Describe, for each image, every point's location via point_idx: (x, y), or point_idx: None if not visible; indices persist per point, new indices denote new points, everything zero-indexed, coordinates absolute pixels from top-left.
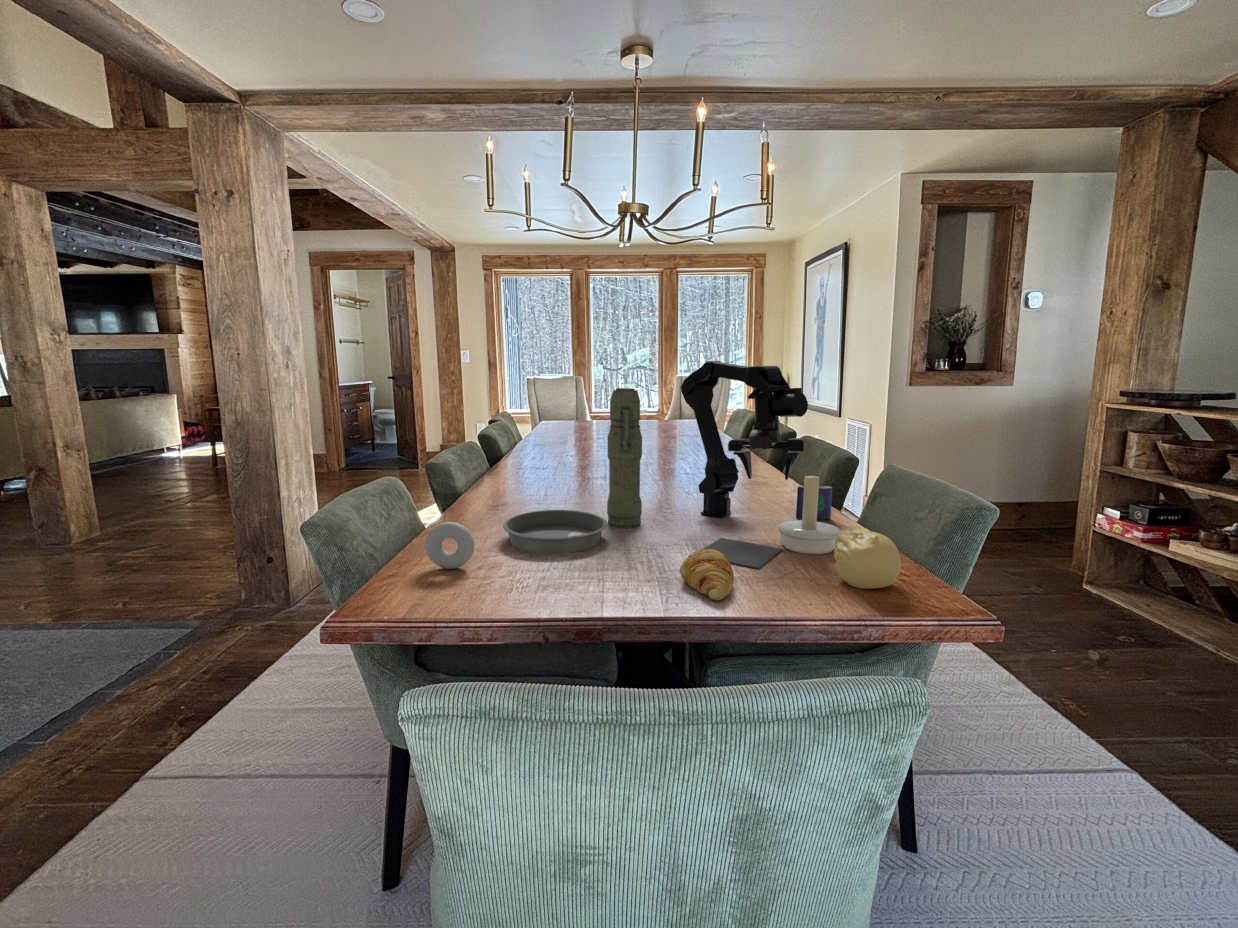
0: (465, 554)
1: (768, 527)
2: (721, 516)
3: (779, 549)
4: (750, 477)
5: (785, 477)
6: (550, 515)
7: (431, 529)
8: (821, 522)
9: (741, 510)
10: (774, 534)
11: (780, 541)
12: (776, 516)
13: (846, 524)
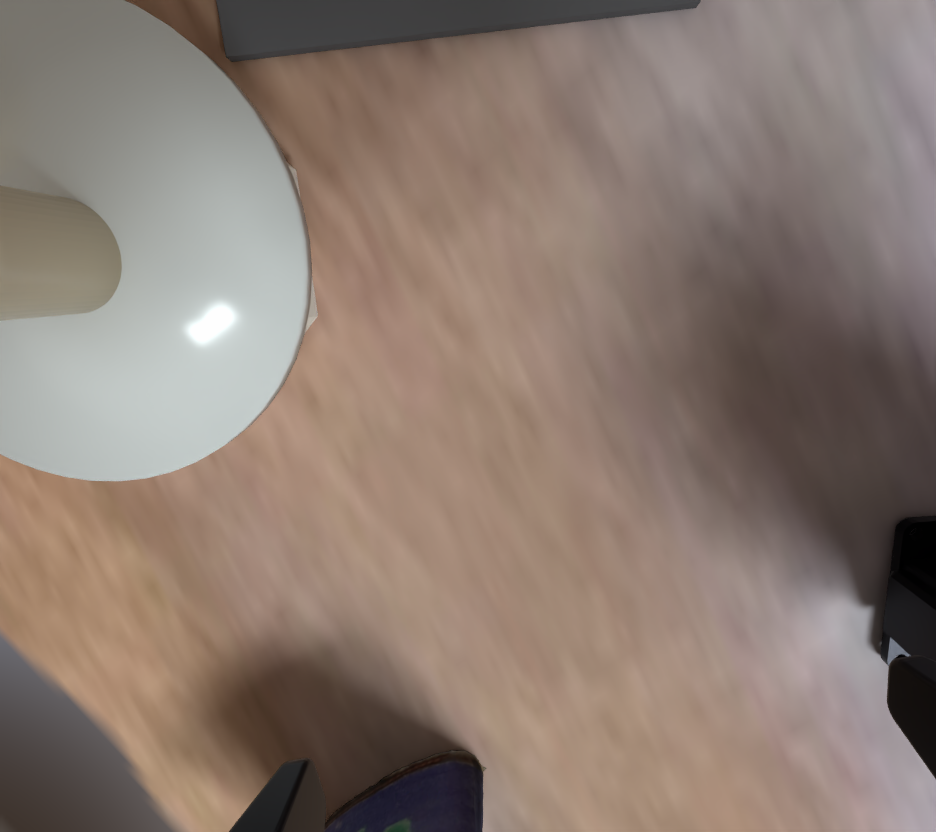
0: None
1: (537, 504)
2: (906, 524)
3: (233, 22)
4: (907, 690)
5: (289, 783)
6: None
7: None
8: (89, 475)
9: (838, 752)
10: (439, 381)
11: (291, 166)
12: (595, 744)
13: (218, 798)
